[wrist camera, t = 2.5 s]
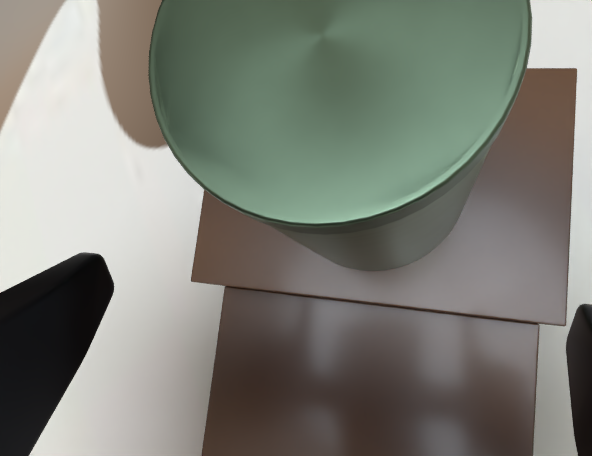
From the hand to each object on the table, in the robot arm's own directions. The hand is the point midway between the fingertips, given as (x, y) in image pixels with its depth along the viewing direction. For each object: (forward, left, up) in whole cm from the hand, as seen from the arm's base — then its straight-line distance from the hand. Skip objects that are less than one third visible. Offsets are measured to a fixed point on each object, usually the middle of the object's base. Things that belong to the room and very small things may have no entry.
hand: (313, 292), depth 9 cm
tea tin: (+4, +1, -7) cm, 8 cm away
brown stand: (0, 0, -12) cm, 12 cm away
